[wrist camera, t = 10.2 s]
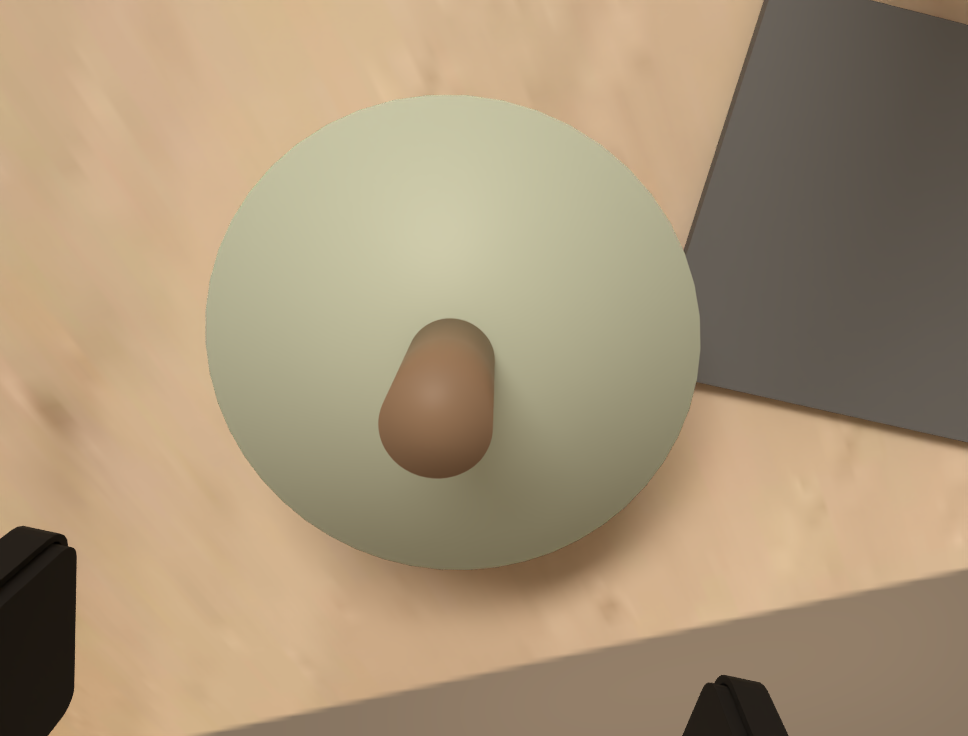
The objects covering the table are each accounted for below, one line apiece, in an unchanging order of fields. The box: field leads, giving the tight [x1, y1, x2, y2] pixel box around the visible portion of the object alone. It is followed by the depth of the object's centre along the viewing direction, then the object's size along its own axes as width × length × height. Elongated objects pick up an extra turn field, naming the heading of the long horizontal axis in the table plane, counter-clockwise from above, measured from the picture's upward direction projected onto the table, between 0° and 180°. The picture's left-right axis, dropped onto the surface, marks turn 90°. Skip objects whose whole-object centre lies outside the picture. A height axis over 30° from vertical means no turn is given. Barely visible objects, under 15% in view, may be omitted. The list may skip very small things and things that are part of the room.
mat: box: [684, 0, 968, 442], centre depth 29 cm, size 17×17×1 cm
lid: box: [206, 95, 700, 570], centre depth 21 cm, size 18×18×7 cm
